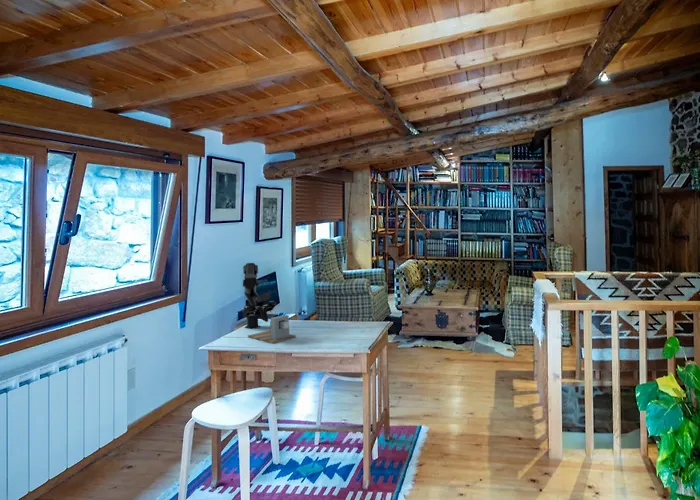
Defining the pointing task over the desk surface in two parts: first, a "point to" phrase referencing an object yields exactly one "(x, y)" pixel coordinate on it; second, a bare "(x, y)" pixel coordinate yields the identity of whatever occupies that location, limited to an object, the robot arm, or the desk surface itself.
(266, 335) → the walnut board
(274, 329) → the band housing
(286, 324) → the gold rounded piece
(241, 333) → the desk surface
